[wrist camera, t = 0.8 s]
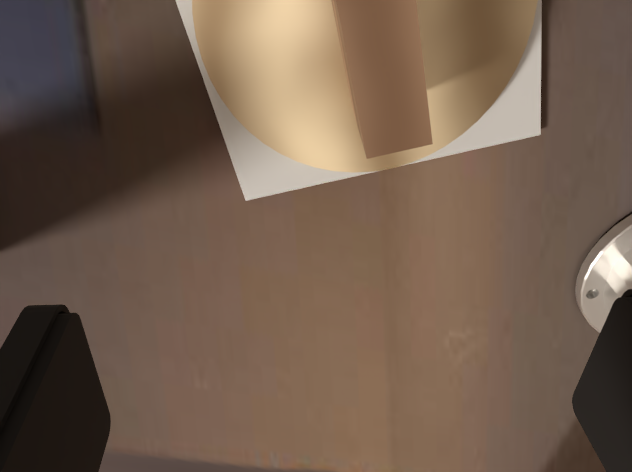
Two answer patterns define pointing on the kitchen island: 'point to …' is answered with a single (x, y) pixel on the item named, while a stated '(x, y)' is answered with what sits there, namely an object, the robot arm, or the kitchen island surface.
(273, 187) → the mat
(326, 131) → the lid
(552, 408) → the kitchen island surface
